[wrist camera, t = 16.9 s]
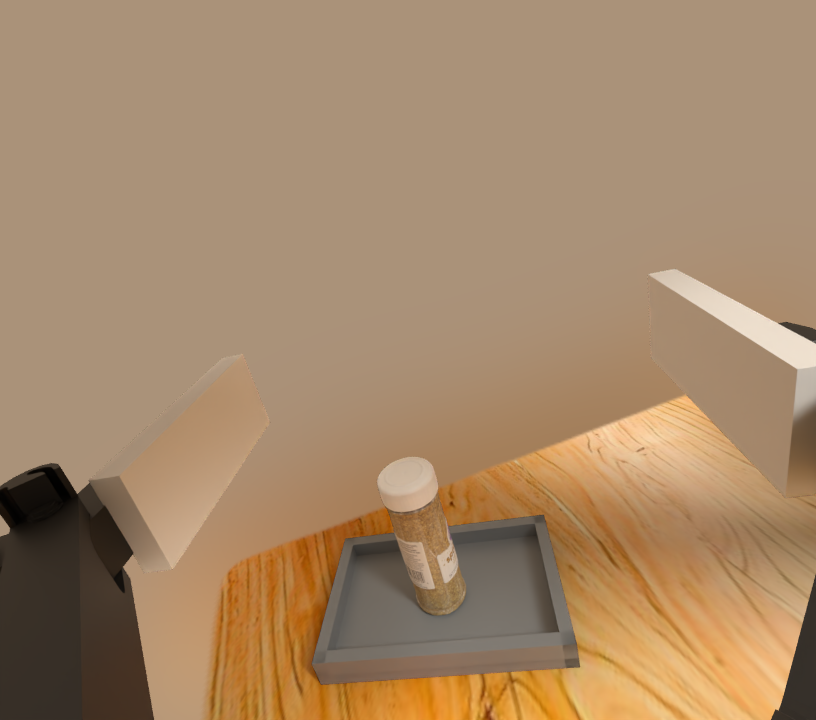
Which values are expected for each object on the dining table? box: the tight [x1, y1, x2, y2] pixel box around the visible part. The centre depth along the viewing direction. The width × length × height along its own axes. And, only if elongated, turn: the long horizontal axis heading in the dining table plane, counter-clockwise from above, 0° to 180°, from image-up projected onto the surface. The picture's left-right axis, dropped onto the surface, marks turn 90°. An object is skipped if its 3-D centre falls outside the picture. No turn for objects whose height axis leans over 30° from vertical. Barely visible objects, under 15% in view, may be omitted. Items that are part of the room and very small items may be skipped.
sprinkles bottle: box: [377, 457, 466, 616], centre depth 39 cm, size 5×5×14 cm
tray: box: [312, 515, 580, 685], centre depth 42 cm, size 20×13×2 cm, turn 86°
